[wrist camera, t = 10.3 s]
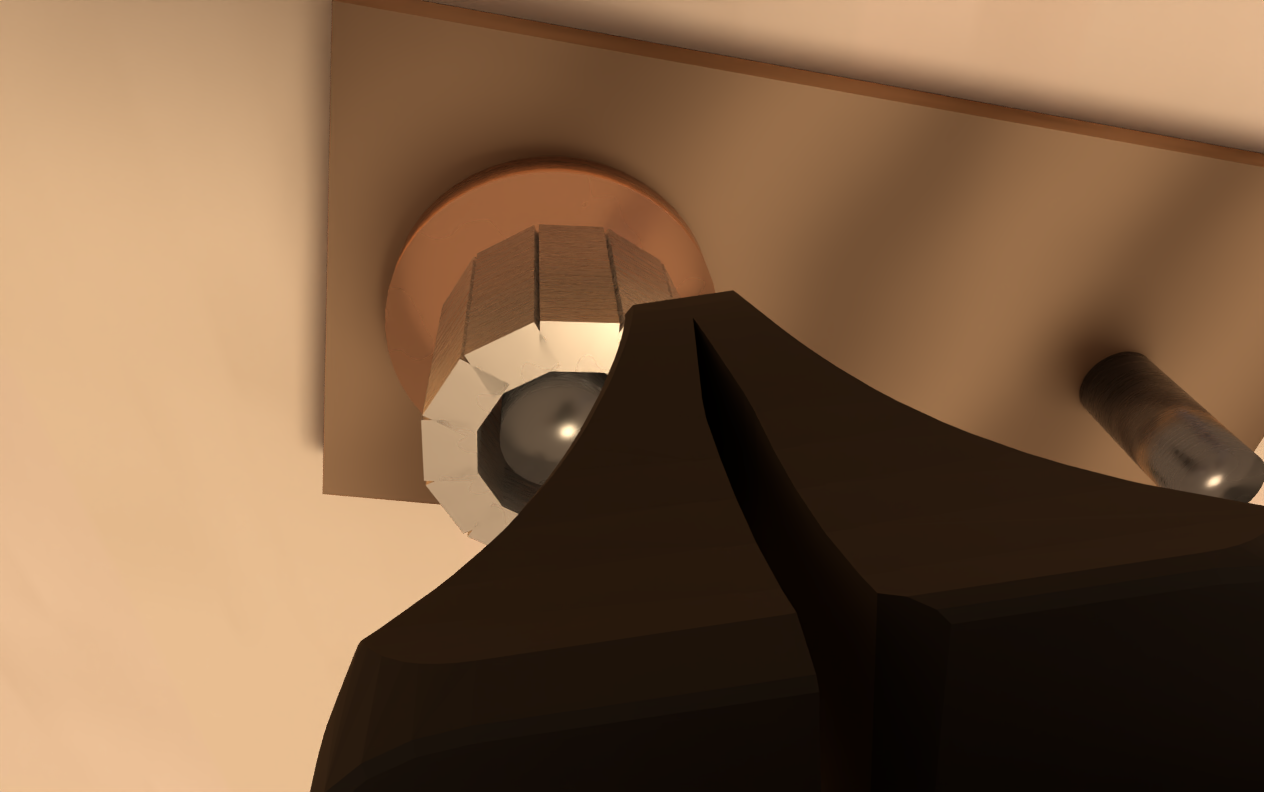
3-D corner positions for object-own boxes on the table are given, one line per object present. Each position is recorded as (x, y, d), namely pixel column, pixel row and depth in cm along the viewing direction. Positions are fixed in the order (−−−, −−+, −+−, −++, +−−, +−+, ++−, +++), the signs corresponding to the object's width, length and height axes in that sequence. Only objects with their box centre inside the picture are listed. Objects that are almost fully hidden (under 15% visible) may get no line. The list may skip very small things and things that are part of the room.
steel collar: (621, 181, 17) (643, 269, 14) (722, 381, 20) (760, 496, 17) (393, 294, 18) (361, 403, 15) (518, 472, 21) (515, 600, 17)
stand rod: (1148, 339, 22) (1261, 437, 18) (1158, 397, 22) (1268, 499, 19) (1073, 371, 22) (1171, 472, 18) (1086, 426, 23) (1182, 532, 19)
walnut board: (1369, 172, 21) (1421, 195, 20) (1146, 534, 27) (1176, 570, 26) (346, -14, 17) (331, 0, 16) (334, 456, 23) (322, 493, 22)
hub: (628, 95, 18) (657, 180, 13) (756, 367, 21) (809, 499, 17) (324, 249, 19) (267, 369, 15) (494, 484, 22) (485, 634, 18)
